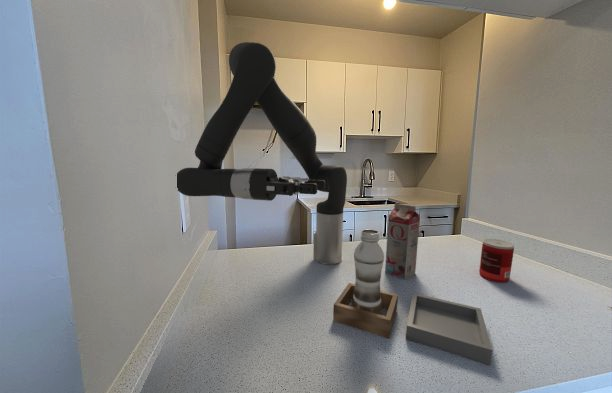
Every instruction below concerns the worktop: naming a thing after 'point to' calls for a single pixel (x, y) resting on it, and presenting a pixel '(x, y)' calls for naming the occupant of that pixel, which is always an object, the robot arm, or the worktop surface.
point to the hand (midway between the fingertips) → (321, 186)
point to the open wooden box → (366, 313)
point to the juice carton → (402, 241)
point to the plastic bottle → (368, 272)
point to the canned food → (496, 260)
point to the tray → (449, 328)
